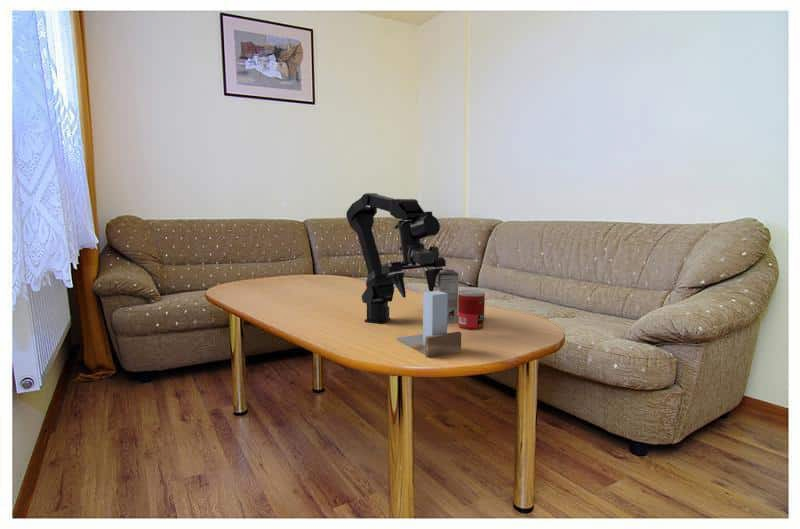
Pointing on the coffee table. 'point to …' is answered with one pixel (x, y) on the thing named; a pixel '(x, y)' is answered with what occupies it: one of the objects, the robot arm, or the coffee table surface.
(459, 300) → the canned food
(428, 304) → the block
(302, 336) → the coffee table surface
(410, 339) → the pad
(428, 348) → the brown slab
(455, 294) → the coffee box
